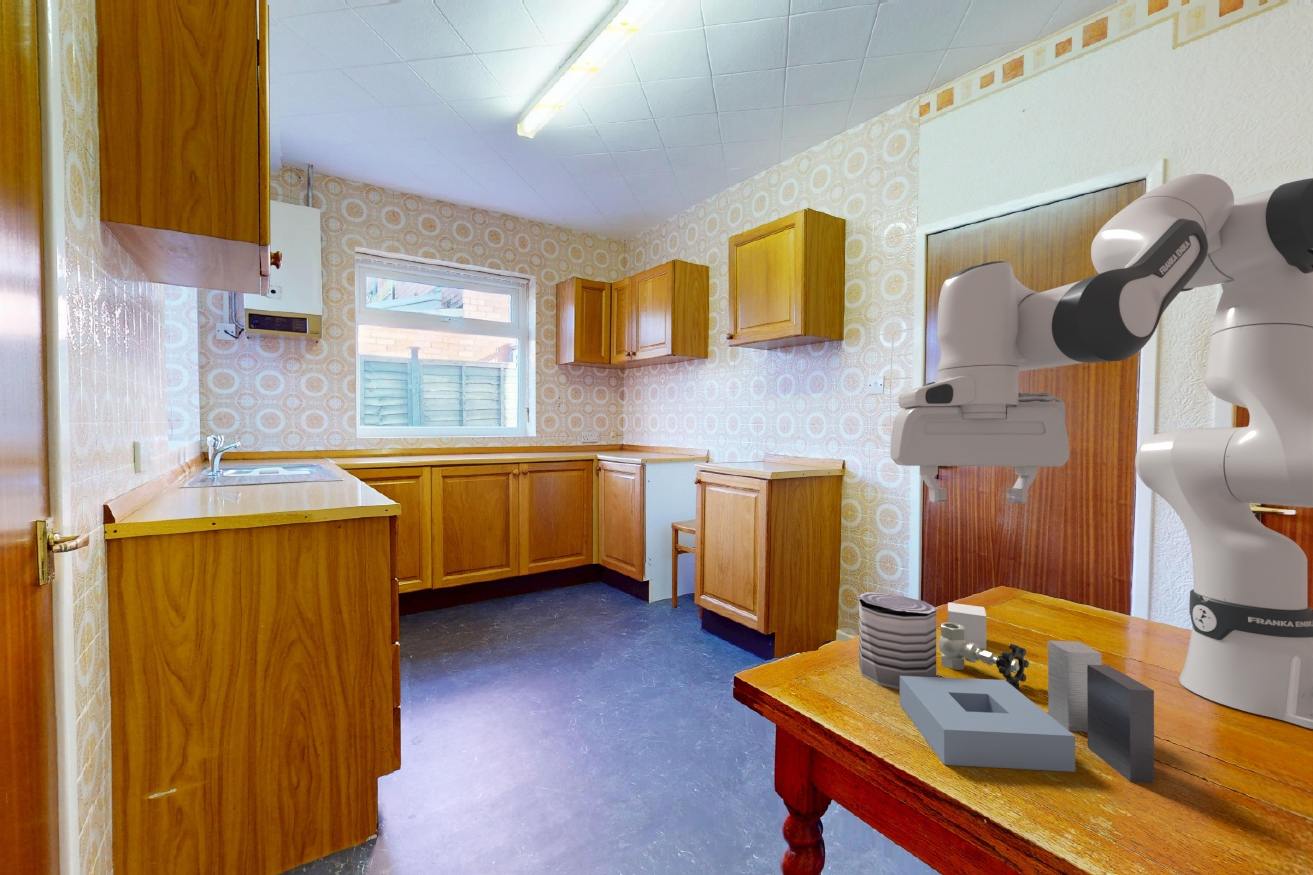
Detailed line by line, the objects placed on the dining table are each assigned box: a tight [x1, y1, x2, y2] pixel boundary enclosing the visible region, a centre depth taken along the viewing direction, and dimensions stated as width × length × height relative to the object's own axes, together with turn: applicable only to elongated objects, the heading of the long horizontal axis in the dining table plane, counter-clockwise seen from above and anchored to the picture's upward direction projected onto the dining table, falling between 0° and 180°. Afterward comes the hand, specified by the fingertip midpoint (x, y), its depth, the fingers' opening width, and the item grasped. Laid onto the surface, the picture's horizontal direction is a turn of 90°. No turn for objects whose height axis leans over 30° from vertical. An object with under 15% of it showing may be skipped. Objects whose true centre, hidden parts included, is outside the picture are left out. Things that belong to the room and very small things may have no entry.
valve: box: [937, 621, 1030, 691], centre depth 85 cm, size 7×7×12 cm
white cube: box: [947, 602, 987, 650], centre depth 99 cm, size 6×6×6 cm
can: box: [856, 591, 939, 691], centre depth 85 cm, size 11×11×12 cm
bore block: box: [899, 676, 1076, 773], centre depth 67 cm, size 14×14×4 cm
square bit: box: [1047, 640, 1103, 733], centre depth 70 cm, size 4×4×10 cm
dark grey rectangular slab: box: [1087, 664, 1155, 784], centre depth 61 cm, size 2×6×10 cm, turn 175°
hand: (976, 502), depth 67 cm, fingers open, 8 cm apart
